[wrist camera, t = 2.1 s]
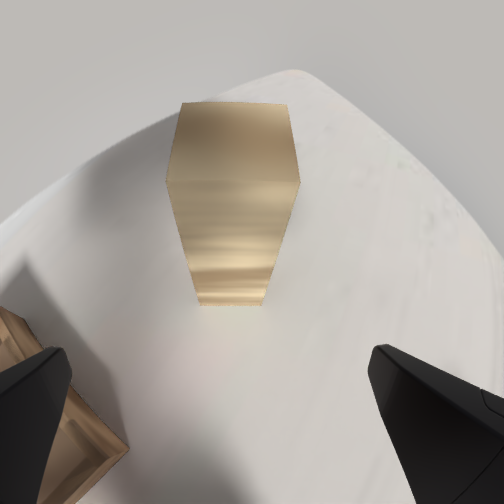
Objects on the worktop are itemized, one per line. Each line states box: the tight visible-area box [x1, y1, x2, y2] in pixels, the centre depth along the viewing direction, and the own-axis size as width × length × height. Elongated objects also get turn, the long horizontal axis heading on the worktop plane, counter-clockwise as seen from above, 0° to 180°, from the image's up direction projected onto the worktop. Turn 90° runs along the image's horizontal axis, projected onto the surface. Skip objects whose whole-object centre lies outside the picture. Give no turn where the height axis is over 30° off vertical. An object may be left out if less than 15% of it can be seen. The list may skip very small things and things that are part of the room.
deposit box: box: [0, 306, 130, 504], centre depth 14 cm, size 14×14×4 cm
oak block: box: [166, 102, 301, 306], centre depth 17 cm, size 4×4×14 cm
